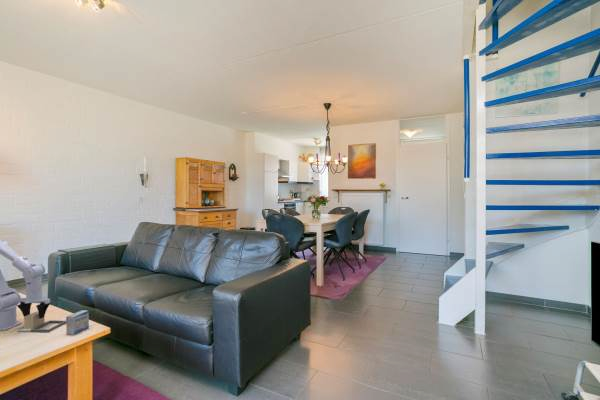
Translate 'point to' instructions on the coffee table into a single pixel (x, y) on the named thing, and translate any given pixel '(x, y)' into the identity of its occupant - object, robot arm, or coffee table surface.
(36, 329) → the grey square frame
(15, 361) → the coffee table surface
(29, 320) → the box
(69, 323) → the medicine box
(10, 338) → the coffee table surface
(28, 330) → the pad
